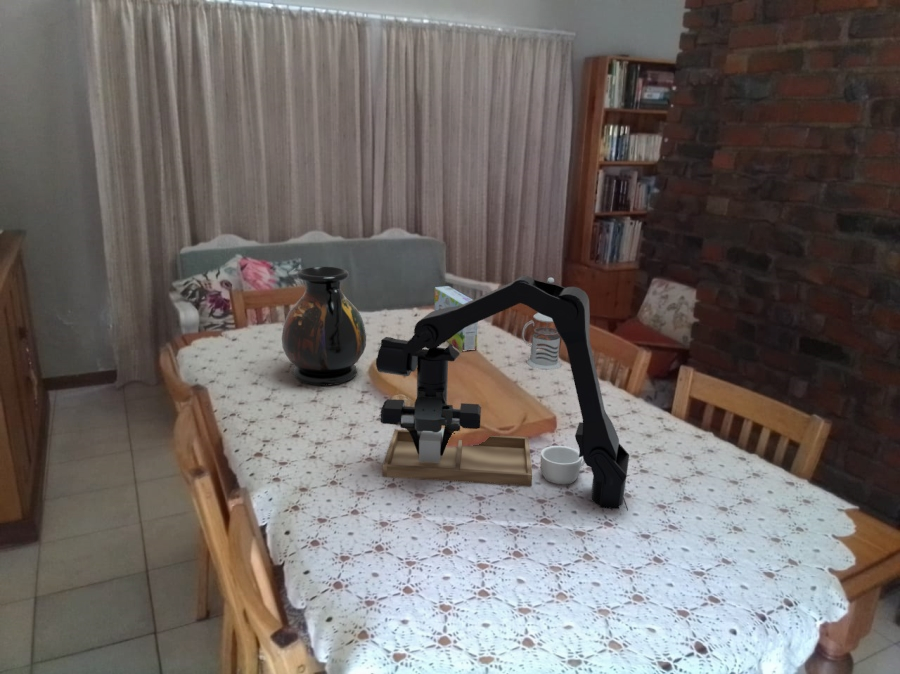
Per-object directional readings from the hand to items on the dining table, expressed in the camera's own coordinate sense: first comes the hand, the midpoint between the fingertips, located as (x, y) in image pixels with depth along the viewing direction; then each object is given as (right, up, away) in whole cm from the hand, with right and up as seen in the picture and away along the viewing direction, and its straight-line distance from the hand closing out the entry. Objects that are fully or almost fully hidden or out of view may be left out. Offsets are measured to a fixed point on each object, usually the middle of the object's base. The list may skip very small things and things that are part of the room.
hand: (430, 454), depth 132 cm
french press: (+30, +15, +62) cm, 71 cm away
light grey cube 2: (0, -1, 0) cm, 1 cm away
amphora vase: (-29, +12, +47) cm, 57 cm away
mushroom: (-7, +4, +22) cm, 24 cm away
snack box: (+5, +21, +79) cm, 82 cm away
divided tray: (+6, -3, +4) cm, 7 cm away
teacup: (+26, -5, 0) cm, 26 cm away
